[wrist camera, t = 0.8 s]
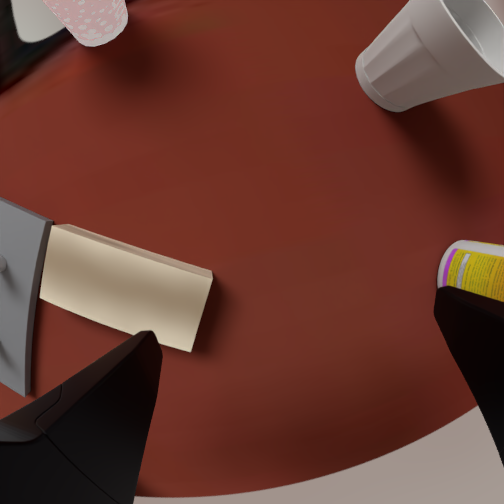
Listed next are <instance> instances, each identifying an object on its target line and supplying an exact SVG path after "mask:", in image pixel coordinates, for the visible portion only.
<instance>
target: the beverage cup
mask: <svg viewBox="0 0 504 504" xmlns="http://www.w3.org/2000/svg"><path fill="white" fill-rule="evenodd" d="M42 1H43V2H44V3H45V4H46V5H47V6H48V7H49V8H50V10H51V11H52V12H53V13H54V14H55V15H56V16H57V18H58V19H59V20H60V21H61V22H62V23H63V24H64V25H65V27H66V28H67V29H68V30H69V31H70V32H71V33H72V34H73V36H74V37H75V38H76V39H77V40H78V41H79V42H80V43H81V44H83V45H85V46H94V47H95V46H98V45H102V44H105V43H107V42H109V41H110V40H112V39H114V38H115V37H116V36H117V35H119V34H120V33H121V32H122V31H123V29H124V28H125V26H126V24H127V21H128V13H127V9H126V5H125V0H42Z"/></svg>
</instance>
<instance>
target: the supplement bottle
mask: <svg viewBox="0 0 504 504" xmlns="http://www.w3.org/2000/svg"><path fill="white" fill-rule="evenodd" d="M447 285H449V286H453V287H456V288H460V289H463V290H466V291H470V292H473V293H476V294H479V295H483V296H486V297H489V298H493V299H496V300H499V301H502V302H504V245H497V244H491V243H484V242H477V241H469V240H460V241H457V242H455V243H453V244H452V245H451V246H450V247H449V248H448V249H447V250H446V252H445V254H444V255H443V257H442V260H441V262H440V266H439V270H438V277H437V286H438V288H439V287H443V286H447Z"/></svg>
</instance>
